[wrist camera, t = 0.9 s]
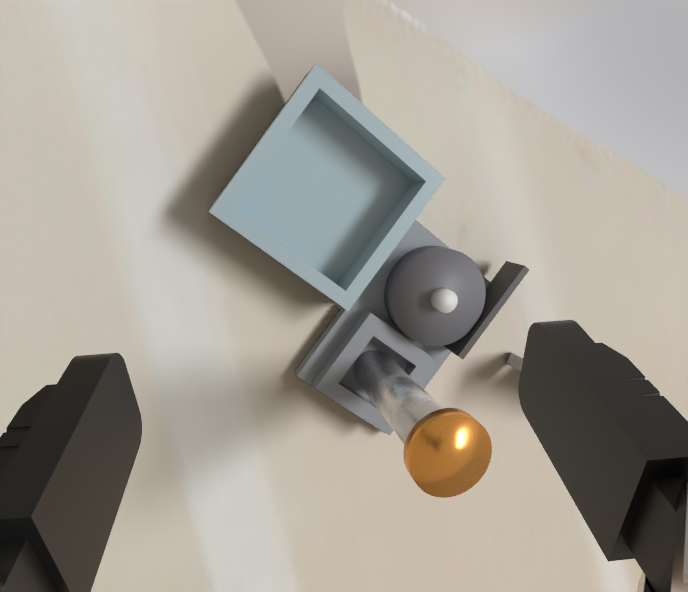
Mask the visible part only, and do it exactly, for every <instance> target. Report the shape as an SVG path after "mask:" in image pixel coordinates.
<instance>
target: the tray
mask: <svg viewBox="0 0 688 592" xmlns="http://www.w3.org/2000/svg"><path fill="white" fill-rule="evenodd" d="M445 179H446V178H444V177H443V176H442V175H441V174H440V173H439V172H438V171H437V170H435V169H434V168H433V167H432V166H431V165H430V164H429V163H428V162H427V161H425V160H424V159H423V158H422V157H421V156H420V155H419V154H418V153H417V152H415V151H414V150H413V149H412V148H411V147H410V146H409V145H408V144H406V143H405V142H404V141H403V140H402V139H401V138H400V137H399V136H398V135H396V134H395V133H394V132H393V131H392V130H391V129H390V128H389V127H387V126H386V125H385V124H384V123H383V122H382V121H381V120H380V119H379V118H377V117H376V116H375V115H374V114H373V113H372V112H371V111H370V110H369V109H367V108H366V107H365V106H364V105H363V104H362V103H361V102H360V101H358V100H357V99H356V98H355V97H354V96H353V95H352V94H351V93H350V92H348V91H347V90H346V89H345V88H344V87H343V86H342V85H341V84H339V83H338V82H337V81H336V80H335V79H334V78H333V77H332V76H331V75H329V74H328V73H327V72H326V71H325V70H324V69H323V68H322V67H321V66H319V65H318V64H317V63H316V64H315V65H314V66H313V68H312V69H311V70H310V71H309V72H308V73H307V75H306V76H305V77H304V79H303V80H302V82H301V83H300V84H299V86H298V87H297V88H296V90H295V91H294V93H293V94H292V95H291V97H290V98H289V99H288V101H287V102H286V104H285V105H284V106H283V108H282V109H281V111H280V112H279V113H278V115H277V116H276V117H275V119H274V120H273V122H272V123H271V124H270V126H269V127H268V128H267V130H266V131H265V133H264V134H263V135H262V137H261V138H260V140H259V141H258V142H257V144H256V145H255V146H254V148H253V149H252V151H251V152H250V153H249V155H248V156H247V157H246V159H245V160H244V162H243V163H242V164H241V166H240V167H239V169H238V170H237V171H236V173H235V174H234V175H233V177H232V178H231V180H230V181H229V182H228V184H227V185H226V186H225V188H224V189H223V191H222V192H221V193H220V195H219V196H218V198H217V199H216V200H215V202H214V203H213V204H212V206H211V207H210V209H209V212H210V213H211V214H212V215H214V216H215V217H217V218H218V219H219V220H221V221H222V222H224V223H225V224H226V225H228V226H229V227H231V228H232V229H233V230H235V231H236V232H238V233H239V234H240V235H242V236H243V237H245V238H246V239H248V240H249V241H250V242H252V243H253V244H255V245H256V246H257V247H259V248H260V249H262V250H263V251H264V252H266V253H267V254H269V255H270V256H271V257H273V258H274V259H276V260H277V261H278V262H280V263H281V264H283V265H284V266H285V267H287V268H288V269H290V270H291V271H292V272H294V273H295V274H297V275H298V276H299V277H301V278H302V279H304V280H305V281H306V282H308V283H309V284H311V285H312V286H313V287H315V288H316V289H318V290H319V291H320V292H322V293H323V294H325V295H326V296H327V297H329V298H330V299H332V300H333V301H334V302H336V303H337V304H339V305H340V306H341V307H343V308H344V309H346V310H347V311H349V310H350V308H351V307H352V306H353V304H354V303H355V302H356V300H357V299H358V298H359V296H360V295H361V293H362V292H363V291H364V289H365V288H366V287H367V285H368V284H369V283H370V281H371V280H372V278H373V277H374V276H375V274H376V273H377V272H378V270H379V269H380V268H381V266H382V265H383V263H384V262H385V261H386V259H387V258H388V257H389V255H390V254H391V253H392V251H393V250H394V248H395V247H396V246H397V244H398V243H399V242H400V240H401V239H402V238H403V236H404V235H405V233H406V232H407V231H408V229H409V228H410V227H411V225H412V224H413V223H414V221H415V220H416V218H417V217H418V216H419V214H420V213H421V212H422V210H423V209H424V208H425V206H426V205H427V203H428V202H429V201H430V199H431V198H432V197H433V195H434V194H435V193H436V191H437V190H438V188H439V187H440V186H441V184H442V183H443V182H444V180H445Z"/></svg>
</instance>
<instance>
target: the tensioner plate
mask: <svg viewBox="0 0 688 592" xmlns="http://www.w3.org/2000/svg"><path fill="white" fill-rule="evenodd" d="M528 271H529V269H528V268H527V267H525V266H523V265H519V264H515V263H511V262H507V261H506V262H505V264H504V265H503V266H502V268H501V269H500V270H499V272H498V273H497V274H496V276H495V277H494V278H493V280H492V281H491V282H489V281H488V280H487V279H486V278H485V277H483V276H482V273H481V271H480V269H479V268H478V266H477V265H476V264H475V262H474V261H473V260H472V259H471V258H469V257H468V256H467V255H465V254H463V253H461V252H459V251H456V250H452V249H450V248H449V247H447V246H446V245H445V244H444V243H443V242H442V241H440V240H439V239H438V238H437V237H436V236H434V235H433V234H432V233H431V232H430V231H428V230H427V229H426V228H425V227H424V226H422V225H421V224H420V223H419V222H418V221H416V220H415V221H414V223H413V224H412V225H411V227H410V228H409V229H408V231H407V232H406V233H405V235H404V236H403V238H402V239H401V240H400V242H399V243H398V244H397V246H396V247H395V248H394V250H393V251H392V253H391V254H390V255H389V257H388V258H387V259H386V261H385V262H384V263H383V265H382V266H381V268H380V269H379V270H378V272H377V273H376V274H375V276H374V277H373V278H372V280H371V281H370V283H369V284H368V285H367V287H366V288H365V289H364V291H363V292H362V293H361V295H360V296H359V298H358V299H357V300H356V302H355V303H354V304H353V306H352V307H351V308H350V310H349V311H347V310H346V309H344V308H343V307H342V308H341V309H340V310H339V312H338V313H337V314H336V316H335V317H334V318H333V320H332V321H331V323H330V324H329V325H328V327H327V328H326V329H325V331H324V332H323V333H322V335H321V336H320V338H319V339H318V340H317V342H316V343H315V344H314V346H313V347H312V348H311V350H310V351H309V353H308V354H307V355H306V357H305V358H304V359H303V361H302V362H301V363H300V365H299V366H298V368H297V369H296V370H295V374H296V376H297V377H298V378H300V379H302V380H303V381H305V382H306V383H308V384H310V385H311V386H313V387H314V388H315V389H316V390H318V391H319V392H321V393H322V394H324V395H325V396H327V397H329V398H330V399H332V400H333V401H335V402H337V403H338V404H340V405H341V406H343V407H344V408H346V409H348V410H349V411H351V412H352V413H354V414H356V415H357V416H359V417H360V418H362V419H363V420H365V421H367V422H368V423H370V424H371V425H373V426H375V427H376V428H378V429H379V430H381V431H382V432H384V433H387V434H389V435H390V434H391V433H392V432H393V429H392V427H391V426H390V425H389V423H388V422H387V421H386V419H385V418H384V417H383V415H382V414H381V413H380V411H379V410H378V409H377V407H376V406H375V405H374V403H373V402H372V401H371V399H370V398H369V397H368V395H367V394H366V393H365V391H364V390H363V389H362V388H361V386H360V385H359V384H358V382H357V381H356V379H355V377H354V371H353V370H354V365H355V362H356V360H357V359H358V358H359V356H360V355H362V354H363V353H365V352H367V351H369V350H380V351H383V352H384V353H386V354H387V355H388V356H389V357H390V358H391V359H392V360H393V361H394V362H395V363H397V364H398V365H399V366H400V367H401V368H402V369H403V370H404V371H405V372H406V373H407V374H408V375H409V376H410V377H411V378H412V379H413V380H414V381H416V382H417V383H418V384H419V385H420V386H421V387H422V388H423V389H424V388H425V387H426V386H427V384H428V383H429V381H430V380H431V379H432V377H433V376H434V375H435V373H436V372H437V371H438V369H439V368H440V367H441V365H442V364H443V363H444V361H445V360H446V358H447V357H448V356H449V354H450V353H451V352H453V353H454V354H456V355H457V356H459V357H460V358H462V359H464V358H465V356H466V355H467V353H468V352H469V351H470V349H471V348H472V347H473V345H474V344H475V343H476V341H477V340H478V339H479V337H480V336H481V335H482V333H483V332H484V330H485V329H486V328H487V326H488V325H489V324H490V322H491V321H492V320H493V318H494V317H495V316H496V314H497V313H498V312H499V310H500V309H501V307H502V306H503V305H504V303H505V302H506V301H507V299H508V298H509V297H510V295H511V294H512V293H513V291H514V290H515V289H516V287H517V286H518V285H519V283H520V282H521V280H522V279H523V278H524V276H525V275H526V274H527V272H528Z"/></svg>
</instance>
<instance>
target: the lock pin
mask: <svg viewBox="0 0 688 592" xmlns="http://www.w3.org/2000/svg"><path fill="white" fill-rule="evenodd" d="M353 371H354V377H355V379H356V381H357V382H358V384H359V385H360V386H361V388H362V389H363V390H364V391H365V393H366V394H367V395H368V397H369V398H370V399H371V401H372V402H373V403H374V405H375V406H376V407H377V409H378V410H379V411H380V413H381V414H382V415H383V417H384V418H385V419H386V421H387V422H388V423H389V425H390V426H391V427H392V429H393V430H394V431H395V432H396V434H397V435H398V436H399V438H400V439H401V440H402V442H403V443H404V444H405V446H404V462H405V466H406V468H407V470H408V472H409V474H410V475H411V476H412V478H413V479H414V481H415V482H416V484H417V485H418V486H419V487H420V488H421V489H422V490H423V491H424V492H426V493H428V494H430V495H432V496H436V497H452V496H456V495H459V494H461V493H463V492H465V491H467V490H469V489H470V488H471V487H473V486H474V485H475V484H476V483H477V482H478V481H479V480H480V479H481V478H482V476H483V475H484V473H485V472H486V470H487V468H488V465H489V463H490V459H491V453H492V446H491V440H490V437H489V435H488V432H487V431H486V429H485V428H484V427H483V426H482V425H481V424H480V423H479V422H478V421H477V420H475V419H474V418H473V417H472V416H471V415H470V414H468V413H467V412H465V411H462V410H460V409H455V408H443V407H442V406H441V405H440V404H439V403H438V402H437V401H436V400H435V399H433V398H432V397H431V396H430V395H429V394H428V393H427V392H426V391H425V390H424V389H423V388H422V387H421V386H420V385H419V384H418V383H417V382H416V381H414V380H413V379H412V378H411V377H410V376H409V375H408V374H407V373H406V372H405V371H404V370H403V369H402V368H401V367H400V366H399V365H398V364H397V363H395V362H394V361H393V360H392V359H391V358H390V357H389V356H388V355H387V354H386V353H384V352H383V351H380V350H369V351H367V352H365V353H363V354H362V355H360V356H359V358H358V359H357V360H356V362H355V365H354V370H353Z"/></svg>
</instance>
